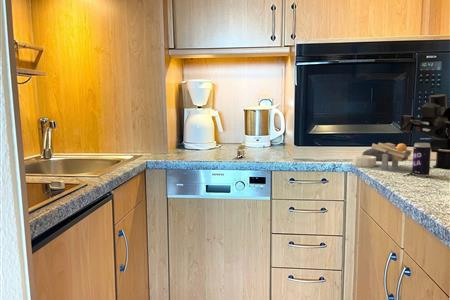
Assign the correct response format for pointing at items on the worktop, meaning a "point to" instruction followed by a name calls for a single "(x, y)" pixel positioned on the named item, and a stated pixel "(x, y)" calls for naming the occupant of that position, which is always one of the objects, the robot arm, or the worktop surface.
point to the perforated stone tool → (377, 154)
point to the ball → (401, 147)
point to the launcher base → (388, 166)
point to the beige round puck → (364, 161)
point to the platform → (240, 150)
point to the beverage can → (421, 159)
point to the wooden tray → (392, 151)
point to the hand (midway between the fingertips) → (414, 131)
